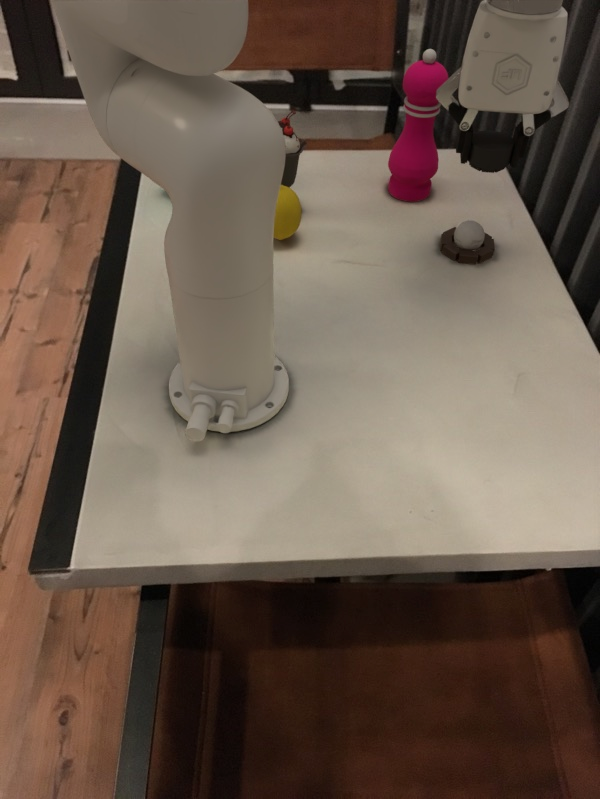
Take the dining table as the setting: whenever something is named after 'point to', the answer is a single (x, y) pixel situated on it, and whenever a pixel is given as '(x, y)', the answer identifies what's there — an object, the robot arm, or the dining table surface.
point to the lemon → (286, 213)
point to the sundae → (290, 151)
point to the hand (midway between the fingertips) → (487, 158)
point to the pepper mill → (417, 131)
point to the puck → (490, 151)
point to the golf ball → (469, 235)
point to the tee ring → (466, 255)
